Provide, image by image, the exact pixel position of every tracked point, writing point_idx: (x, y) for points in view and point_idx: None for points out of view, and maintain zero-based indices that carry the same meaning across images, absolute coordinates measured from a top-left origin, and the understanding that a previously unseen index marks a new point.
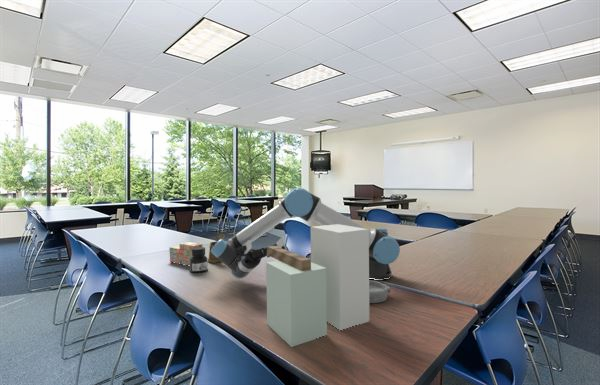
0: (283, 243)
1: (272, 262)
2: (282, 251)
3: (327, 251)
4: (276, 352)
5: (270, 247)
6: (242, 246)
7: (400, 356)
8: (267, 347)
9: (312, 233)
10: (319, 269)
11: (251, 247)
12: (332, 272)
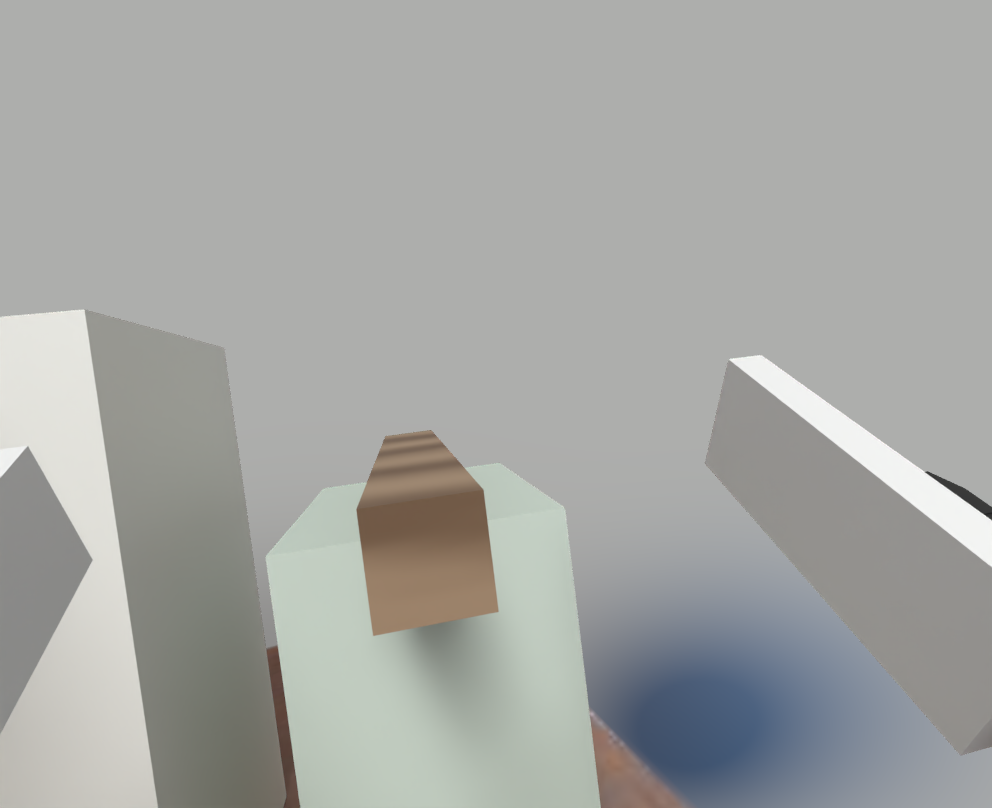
0: (68, 587)
1: (521, 506)
2: (427, 452)
3: (206, 463)
4: (594, 724)
5: (459, 477)
6: (958, 491)
7: (276, 672)
8: (626, 751)
9: (109, 371)
10: (359, 483)
11: (714, 467)
12: (235, 560)
